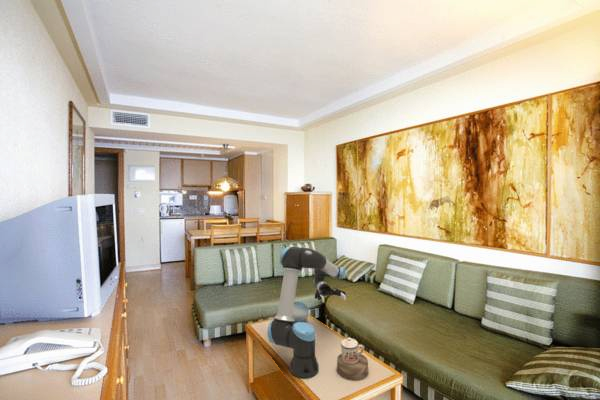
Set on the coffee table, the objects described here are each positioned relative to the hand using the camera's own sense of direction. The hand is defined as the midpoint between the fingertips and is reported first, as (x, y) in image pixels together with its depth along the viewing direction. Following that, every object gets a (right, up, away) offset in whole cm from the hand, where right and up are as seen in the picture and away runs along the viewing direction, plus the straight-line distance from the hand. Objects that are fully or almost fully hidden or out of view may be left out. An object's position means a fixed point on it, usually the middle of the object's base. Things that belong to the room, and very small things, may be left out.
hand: (334, 299), depth 174 cm
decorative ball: (-22, -30, +38) cm, 53 cm away
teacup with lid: (+7, -24, -22) cm, 34 cm away
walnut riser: (+7, -30, -22) cm, 38 cm away
